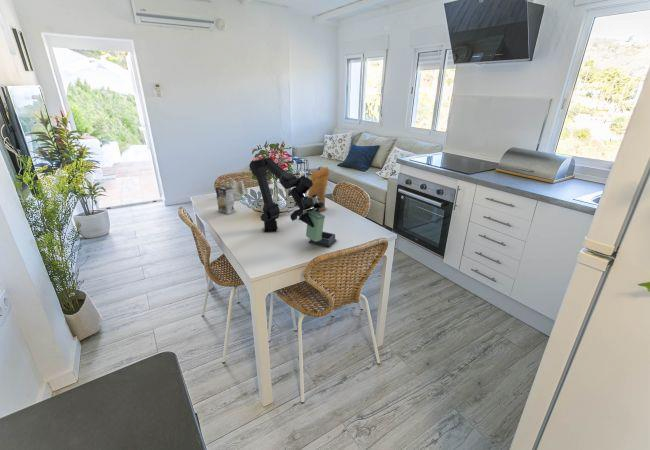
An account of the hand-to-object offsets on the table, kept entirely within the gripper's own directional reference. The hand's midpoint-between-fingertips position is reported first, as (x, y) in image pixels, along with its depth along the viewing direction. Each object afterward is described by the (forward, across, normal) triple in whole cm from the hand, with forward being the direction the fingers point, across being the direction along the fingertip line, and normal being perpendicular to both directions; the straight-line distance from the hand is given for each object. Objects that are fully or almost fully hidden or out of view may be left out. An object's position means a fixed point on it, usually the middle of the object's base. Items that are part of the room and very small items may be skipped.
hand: (316, 225), depth 150 cm
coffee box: (-46, -1, +64) cm, 79 cm away
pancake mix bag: (-16, +39, +34) cm, 54 cm away
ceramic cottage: (-60, +21, +79) cm, 102 cm away
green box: (+4, 0, +6) cm, 7 cm away
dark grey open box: (+7, +8, +12) cm, 16 cm away
